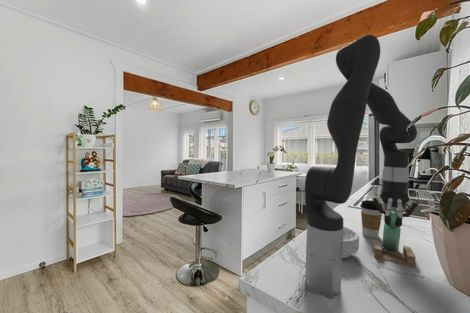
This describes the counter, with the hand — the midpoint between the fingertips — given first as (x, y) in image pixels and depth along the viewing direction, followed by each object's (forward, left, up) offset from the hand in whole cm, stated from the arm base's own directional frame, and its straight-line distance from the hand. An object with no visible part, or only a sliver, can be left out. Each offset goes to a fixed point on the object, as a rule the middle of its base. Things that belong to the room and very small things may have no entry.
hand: (392, 225), depth 77 cm
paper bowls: (-11, +18, -10) cm, 23 cm away
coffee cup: (+14, +6, -10) cm, 19 cm away
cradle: (-3, 0, -10) cm, 11 cm away
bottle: (+3, 0, -10) cm, 10 cm away
